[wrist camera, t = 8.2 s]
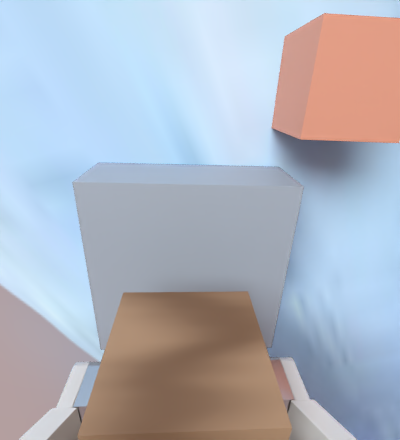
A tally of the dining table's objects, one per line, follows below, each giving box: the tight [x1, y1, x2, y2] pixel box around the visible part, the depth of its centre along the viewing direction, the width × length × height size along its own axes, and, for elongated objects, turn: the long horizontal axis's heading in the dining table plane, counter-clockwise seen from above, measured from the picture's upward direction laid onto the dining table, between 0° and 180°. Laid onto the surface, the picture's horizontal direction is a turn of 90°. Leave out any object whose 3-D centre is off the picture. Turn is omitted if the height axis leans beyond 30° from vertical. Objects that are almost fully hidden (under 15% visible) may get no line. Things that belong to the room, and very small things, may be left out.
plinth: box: [73, 163, 304, 350], centre depth 17 cm, size 11×11×4 cm
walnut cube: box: [77, 291, 292, 440], centre depth 10 cm, size 5×5×5 cm
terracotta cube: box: [272, 13, 400, 143], centre depth 13 cm, size 4×4×4 cm
